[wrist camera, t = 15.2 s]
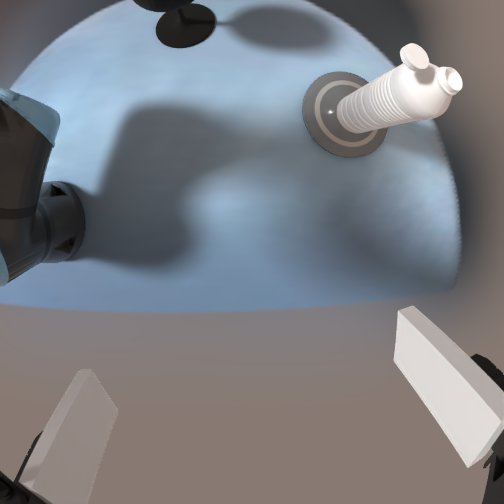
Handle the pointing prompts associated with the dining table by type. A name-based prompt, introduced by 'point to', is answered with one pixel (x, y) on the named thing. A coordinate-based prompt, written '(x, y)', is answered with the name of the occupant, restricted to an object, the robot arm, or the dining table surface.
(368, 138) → the slate coaster
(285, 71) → the dining table surface
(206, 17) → the wine glass
